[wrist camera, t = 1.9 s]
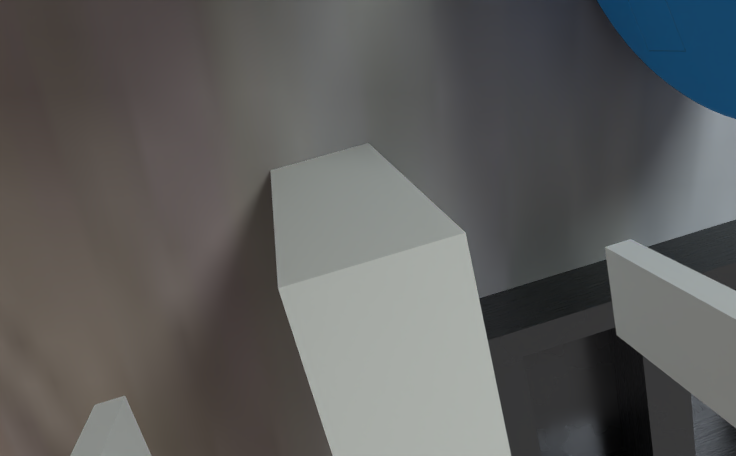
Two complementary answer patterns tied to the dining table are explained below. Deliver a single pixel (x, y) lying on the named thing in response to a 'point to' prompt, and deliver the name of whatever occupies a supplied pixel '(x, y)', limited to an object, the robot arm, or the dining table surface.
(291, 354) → the dining table surface
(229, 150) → the dining table surface
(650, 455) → the rack
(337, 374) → the pale grey rectangular block
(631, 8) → the alarm clock
